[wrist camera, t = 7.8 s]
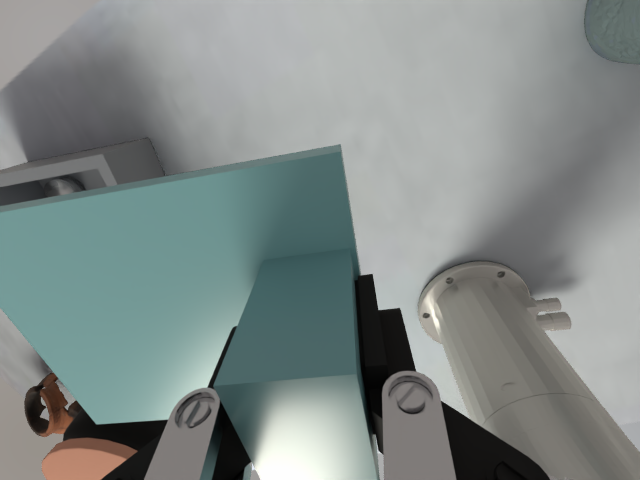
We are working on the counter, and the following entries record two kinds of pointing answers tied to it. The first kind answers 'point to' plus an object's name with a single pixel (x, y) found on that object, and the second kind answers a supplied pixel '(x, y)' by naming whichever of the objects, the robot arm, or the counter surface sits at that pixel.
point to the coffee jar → (97, 447)
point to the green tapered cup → (614, 29)
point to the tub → (81, 170)
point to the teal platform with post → (205, 304)
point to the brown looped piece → (49, 408)
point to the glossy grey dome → (63, 186)
